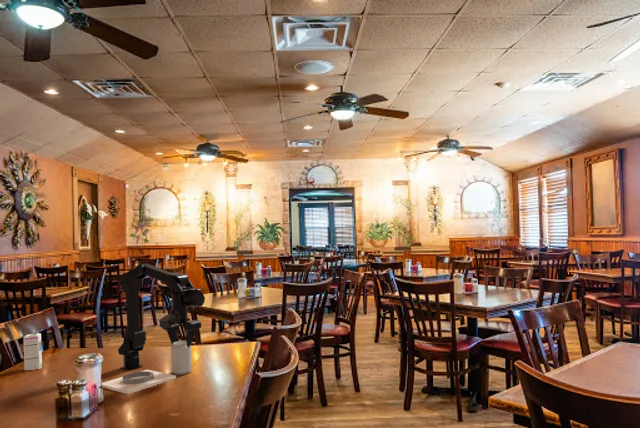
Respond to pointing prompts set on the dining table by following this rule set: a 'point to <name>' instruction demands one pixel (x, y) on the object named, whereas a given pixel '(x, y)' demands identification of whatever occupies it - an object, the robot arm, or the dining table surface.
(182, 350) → the can
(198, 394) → the dining table surface
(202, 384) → the dining table surface
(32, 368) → the syrup box
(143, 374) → the platter
